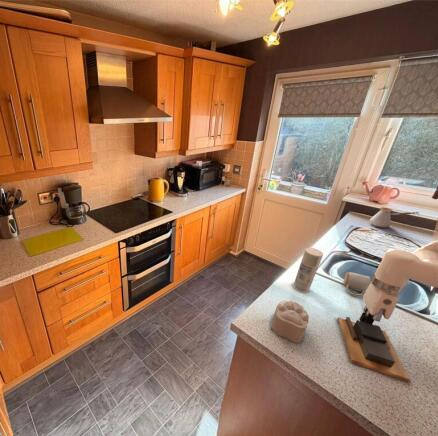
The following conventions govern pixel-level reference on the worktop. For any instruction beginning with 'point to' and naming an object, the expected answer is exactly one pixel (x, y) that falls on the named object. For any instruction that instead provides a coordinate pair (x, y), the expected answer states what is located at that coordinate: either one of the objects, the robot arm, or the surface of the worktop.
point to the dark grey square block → (369, 331)
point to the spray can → (307, 269)
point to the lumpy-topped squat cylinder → (290, 320)
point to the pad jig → (371, 352)
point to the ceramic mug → (356, 283)
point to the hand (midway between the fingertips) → (364, 322)
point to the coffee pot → (384, 217)
